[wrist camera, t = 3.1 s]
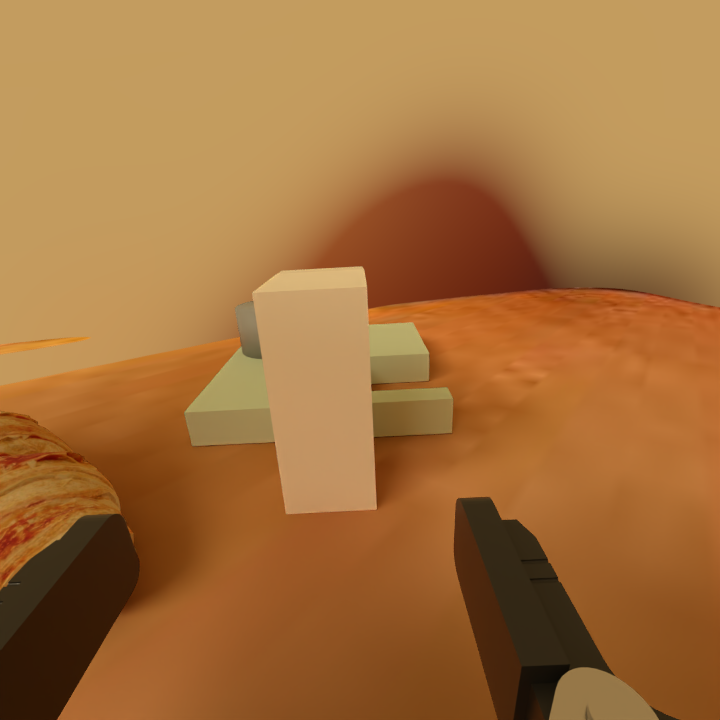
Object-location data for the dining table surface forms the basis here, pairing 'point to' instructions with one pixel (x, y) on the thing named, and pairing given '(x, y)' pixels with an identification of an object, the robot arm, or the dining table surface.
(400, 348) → the deck
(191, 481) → the dining table surface
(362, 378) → the beige bar
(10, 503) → the croissant
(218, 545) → the dining table surface
